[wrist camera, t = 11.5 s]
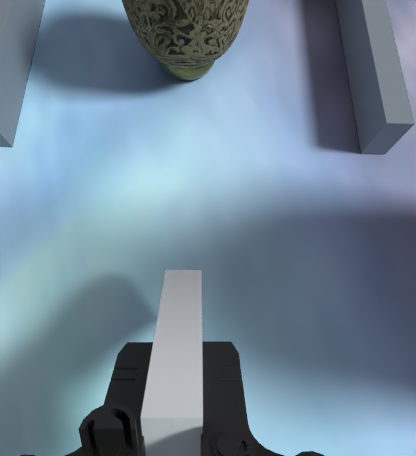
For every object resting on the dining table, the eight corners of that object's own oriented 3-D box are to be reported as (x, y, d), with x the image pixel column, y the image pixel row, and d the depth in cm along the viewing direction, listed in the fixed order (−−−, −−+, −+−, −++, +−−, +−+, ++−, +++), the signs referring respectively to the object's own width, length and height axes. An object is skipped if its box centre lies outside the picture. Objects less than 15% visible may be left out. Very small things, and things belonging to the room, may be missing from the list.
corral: (-14, 146, 20) (-48, 113, 17) (31, -29, 25) (10, -77, 22) (385, 154, 21) (414, 123, 18) (351, -19, 26) (370, -63, 23)
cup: (108, 58, 23) (65, -85, 15) (191, 6, 25) (189, -146, 17) (183, 130, 21) (175, 8, 14) (265, 68, 23) (299, -70, 15)
